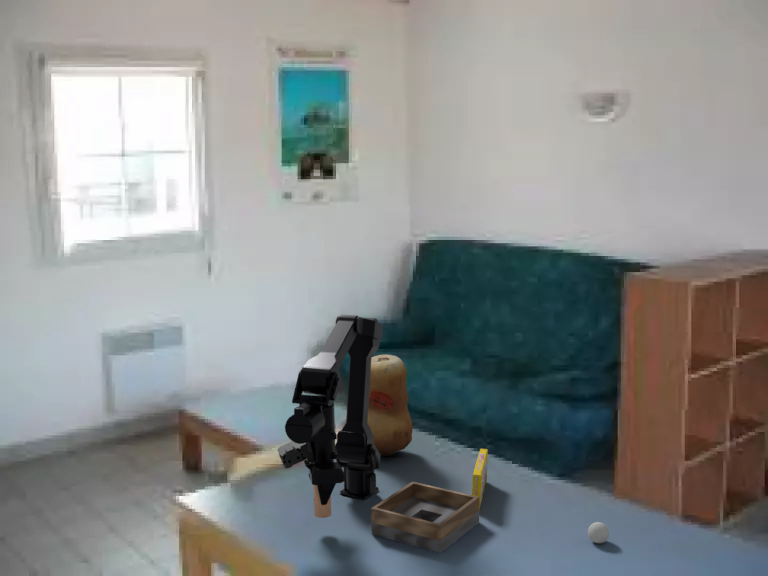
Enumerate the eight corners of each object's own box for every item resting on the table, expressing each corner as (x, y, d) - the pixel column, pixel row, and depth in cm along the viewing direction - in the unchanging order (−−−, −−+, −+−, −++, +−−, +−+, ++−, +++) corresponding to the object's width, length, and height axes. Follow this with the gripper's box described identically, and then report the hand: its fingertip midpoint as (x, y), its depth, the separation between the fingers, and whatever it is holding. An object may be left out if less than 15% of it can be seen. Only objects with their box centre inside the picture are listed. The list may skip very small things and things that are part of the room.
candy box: (481, 512, 193) (481, 475, 191) (471, 511, 193) (471, 474, 192) (488, 482, 208) (488, 448, 207) (478, 482, 209) (478, 447, 207)
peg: (311, 515, 183) (309, 477, 182) (321, 509, 186) (320, 472, 185) (324, 519, 182) (323, 481, 180) (334, 513, 184) (333, 475, 183)
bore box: (371, 533, 183) (371, 508, 182) (412, 505, 196) (412, 481, 195) (440, 553, 175) (440, 526, 174) (479, 522, 188) (479, 497, 187)
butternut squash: (352, 462, 222) (350, 363, 217) (363, 443, 235) (360, 349, 230) (409, 465, 219) (408, 364, 215) (416, 445, 232) (415, 350, 228)
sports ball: (605, 548, 175) (605, 529, 175) (584, 543, 177) (585, 524, 177) (611, 540, 179) (612, 521, 178) (591, 536, 181) (592, 517, 180)
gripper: (275, 415, 188) (278, 487, 191) (284, 446, 170) (287, 524, 173) (328, 411, 190) (330, 482, 193) (343, 441, 172) (345, 518, 175)
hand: (322, 500), depth 183 cm, fingers closed on peg, 3 cm apart
